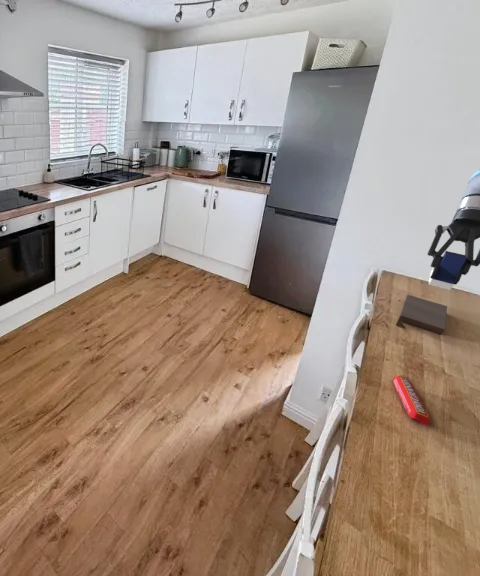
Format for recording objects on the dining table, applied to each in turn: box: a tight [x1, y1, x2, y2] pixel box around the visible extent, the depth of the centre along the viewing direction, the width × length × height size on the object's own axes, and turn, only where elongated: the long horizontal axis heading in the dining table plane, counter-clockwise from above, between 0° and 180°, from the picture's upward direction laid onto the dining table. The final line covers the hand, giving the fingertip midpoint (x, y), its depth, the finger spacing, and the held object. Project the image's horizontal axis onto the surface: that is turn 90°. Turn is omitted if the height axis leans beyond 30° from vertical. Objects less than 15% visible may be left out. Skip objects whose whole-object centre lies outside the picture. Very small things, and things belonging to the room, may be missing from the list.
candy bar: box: [392, 375, 431, 427], centre depth 88 cm, size 16×4×3 cm, turn 158°
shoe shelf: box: [395, 294, 448, 336], centre depth 122 cm, size 20×11×4 cm, turn 138°
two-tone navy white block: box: [428, 250, 466, 291], centre depth 114 cm, size 12×5×10 cm, turn 138°
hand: (444, 279), depth 109 cm, fingers closed on two-tone navy white block, 5 cm apart
